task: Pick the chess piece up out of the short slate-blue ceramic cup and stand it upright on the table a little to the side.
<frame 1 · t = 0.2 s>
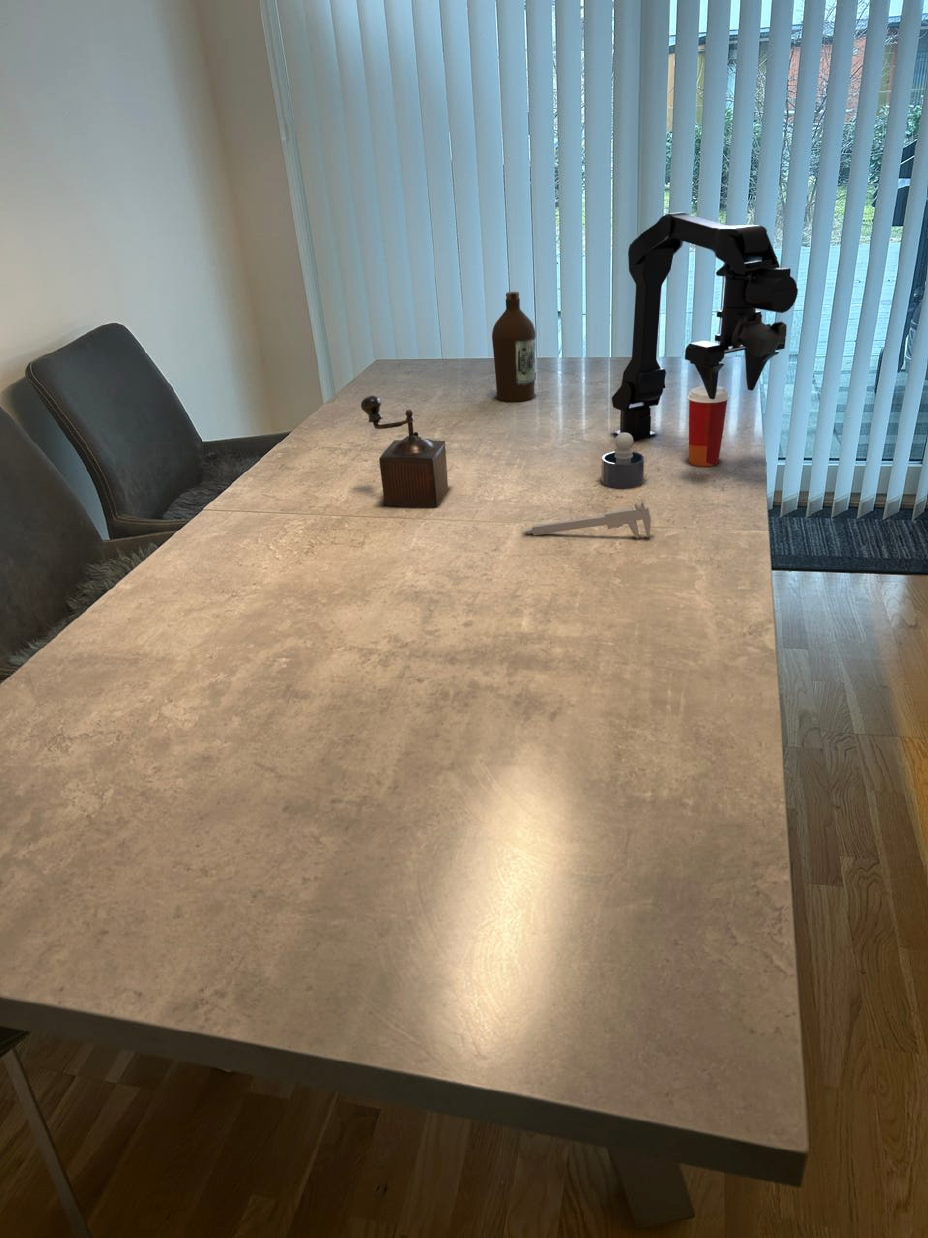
hand: (731, 394, 162), 15 cm above the table, tool pointing down, fingers open, 9 cm apart
chess piece: (622, 480, 167), resting on ceramic cup
caliper: (586, 536, 146), on the table
ceramic cup: (622, 481, 167), on the table
olive oil: (515, 397, 224), on the table
manual coffee grinder: (404, 496, 167), on the table
paper cup: (703, 462, 174), on the table
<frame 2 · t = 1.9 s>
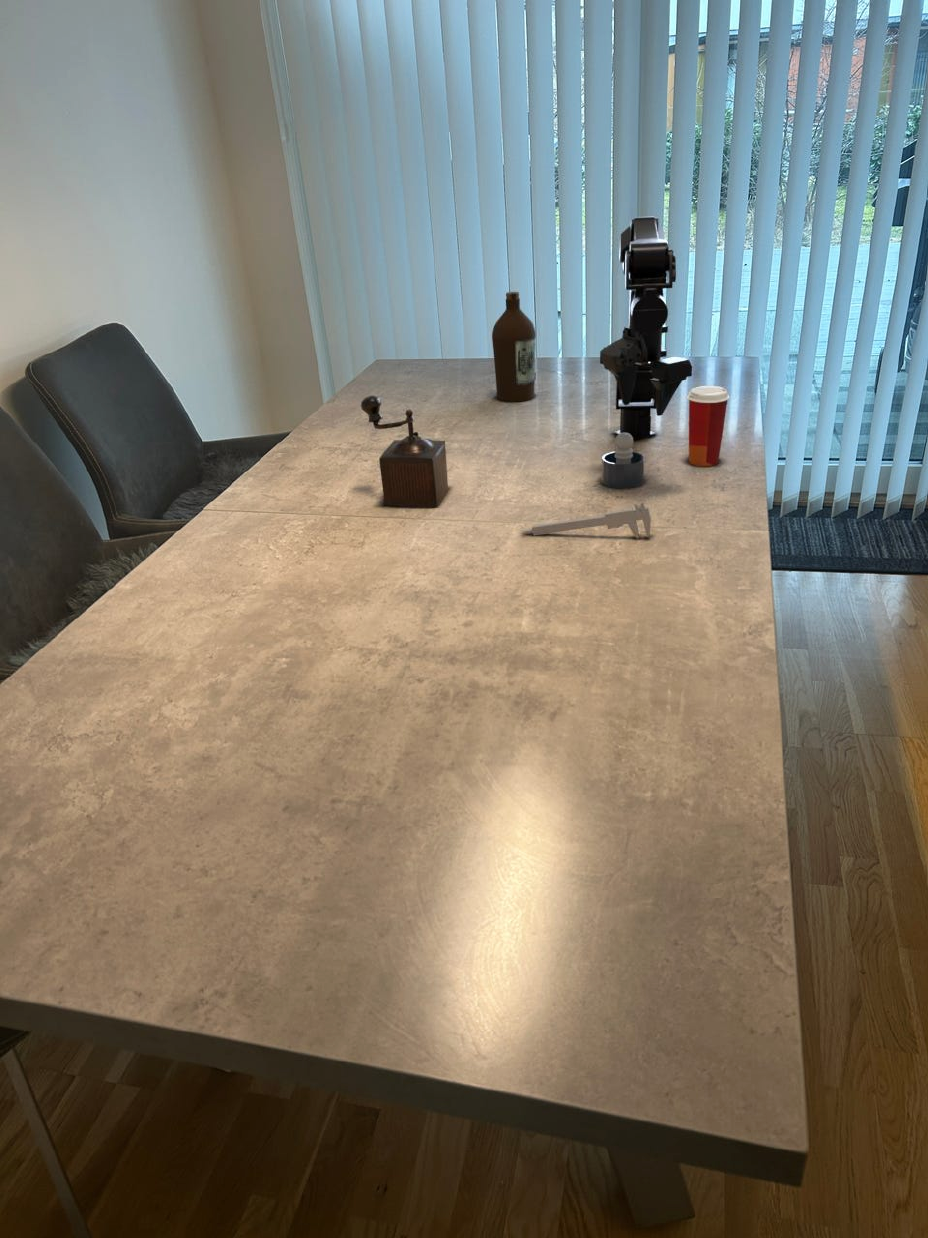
hand: (642, 409, 161), 13 cm above the table, tool pointing down, fingers open, 9 cm apart
nothing on the table moved.
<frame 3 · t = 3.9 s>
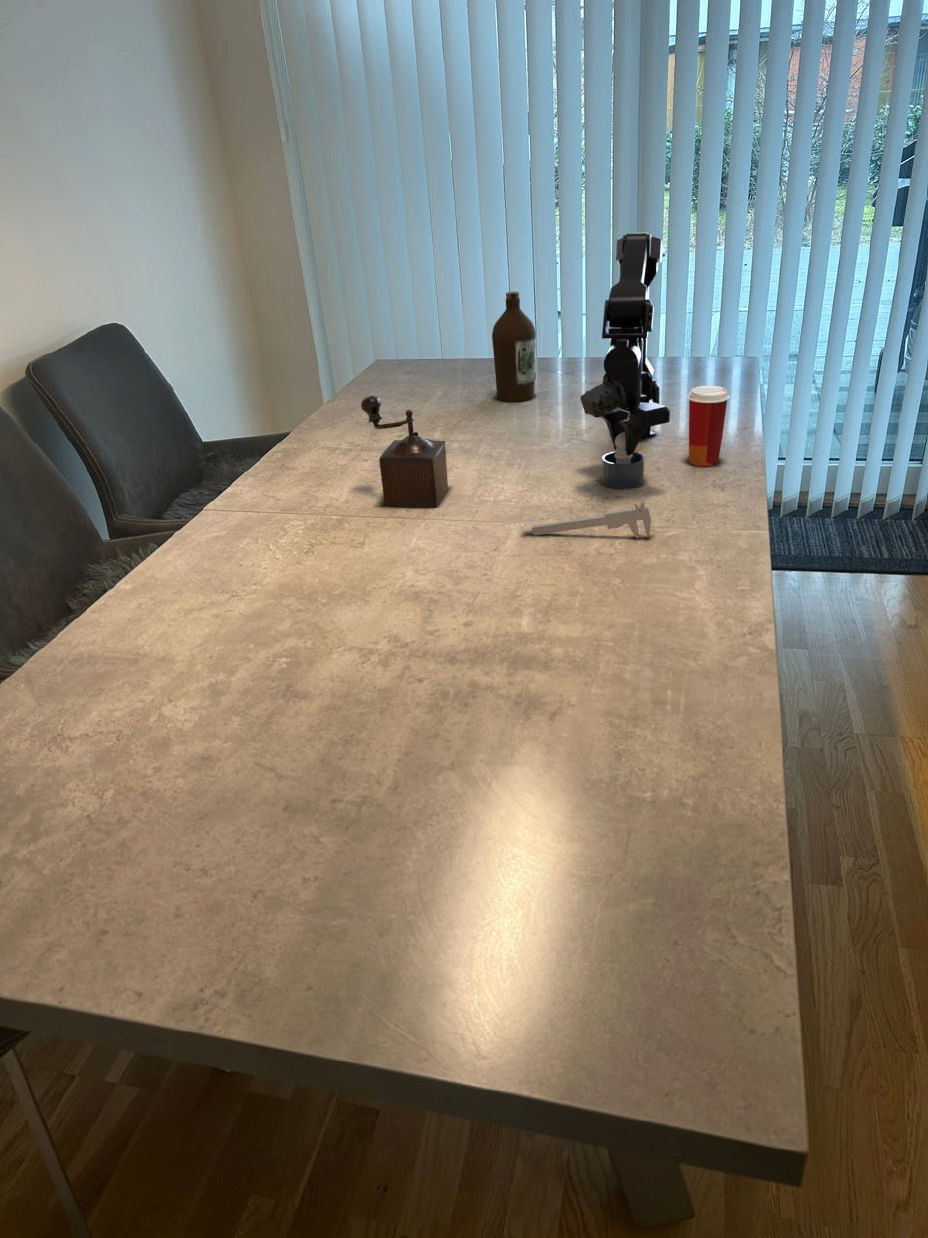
hand: (623, 452, 165), 6 cm above the table, tool pointing down, fingers closed on chess piece, 3 cm apart
chess piece: (622, 480, 167), resting on ceramic cup, touching gripper
everything else where it was.
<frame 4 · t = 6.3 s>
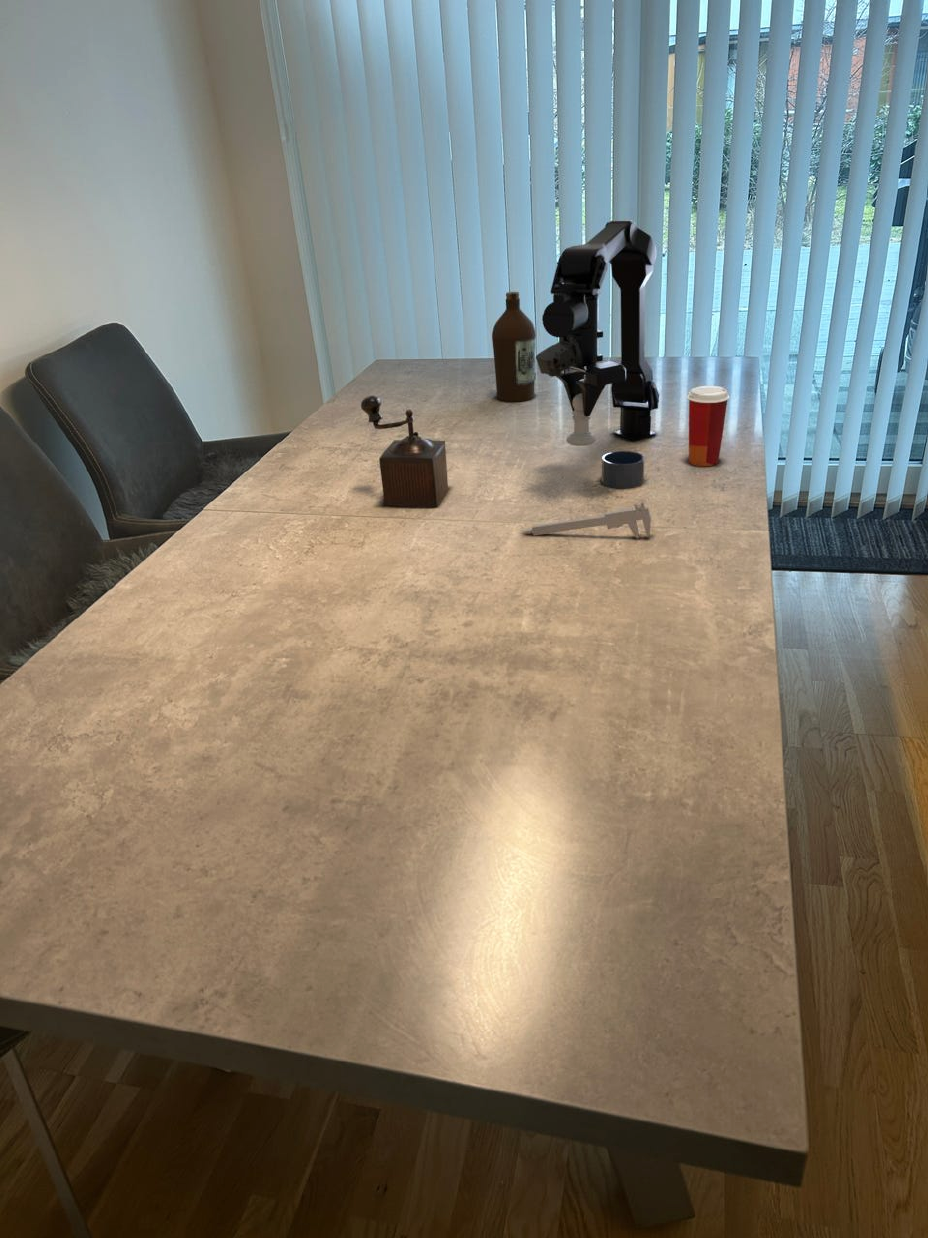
hand: (581, 413, 162), 13 cm above the table, tool pointing down, fingers closed on chess piece, 3 cm apart
chess piece: (581, 443, 165), point 7 cm above the table, touching gripper
everything else where it was.
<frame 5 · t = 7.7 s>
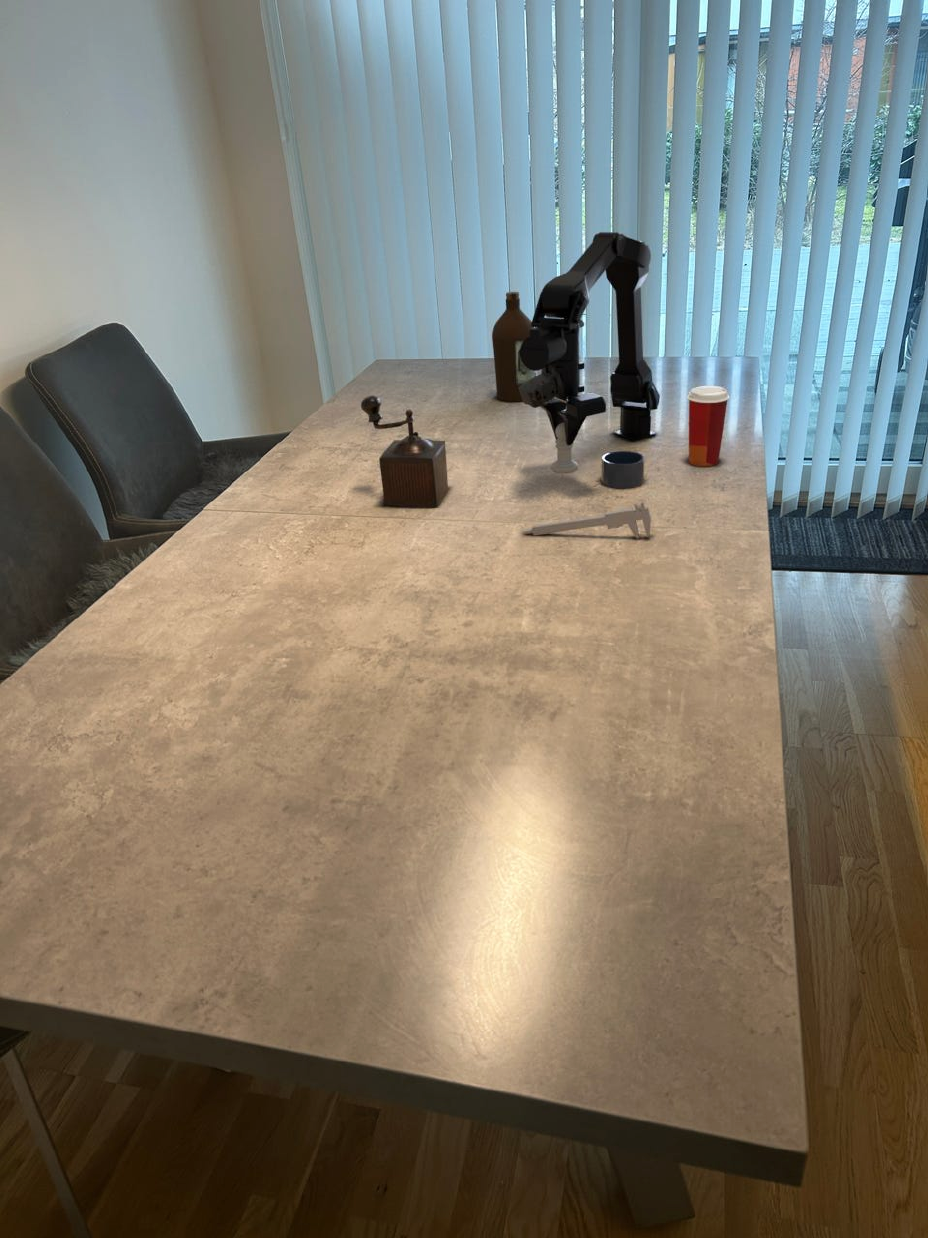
hand: (564, 442, 166), 8 cm above the table, tool pointing down, fingers closed on chess piece, 3 cm apart
chess piece: (564, 470, 168), point 2 cm above the table, touching gripper
everything else where it was.
when the fingers open (5 cm above the table, at t = 8.6 s): chess piece stays where it is, on the table.
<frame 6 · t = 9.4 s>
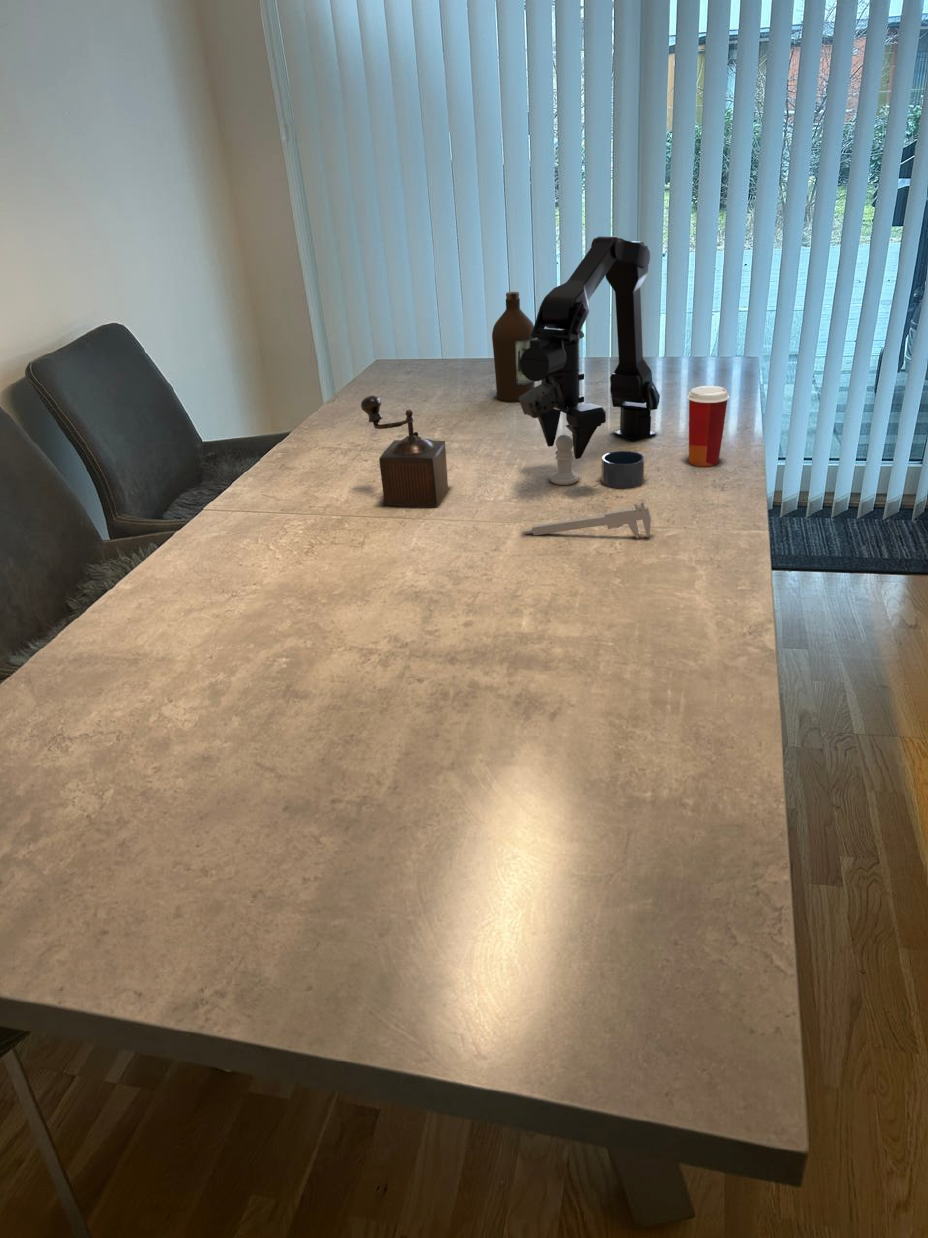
hand: (563, 452, 167), 6 cm above the table, tool pointing down, fingers open, 9 cm apart
chess piece: (564, 481, 169), on the table
everything else where it was.
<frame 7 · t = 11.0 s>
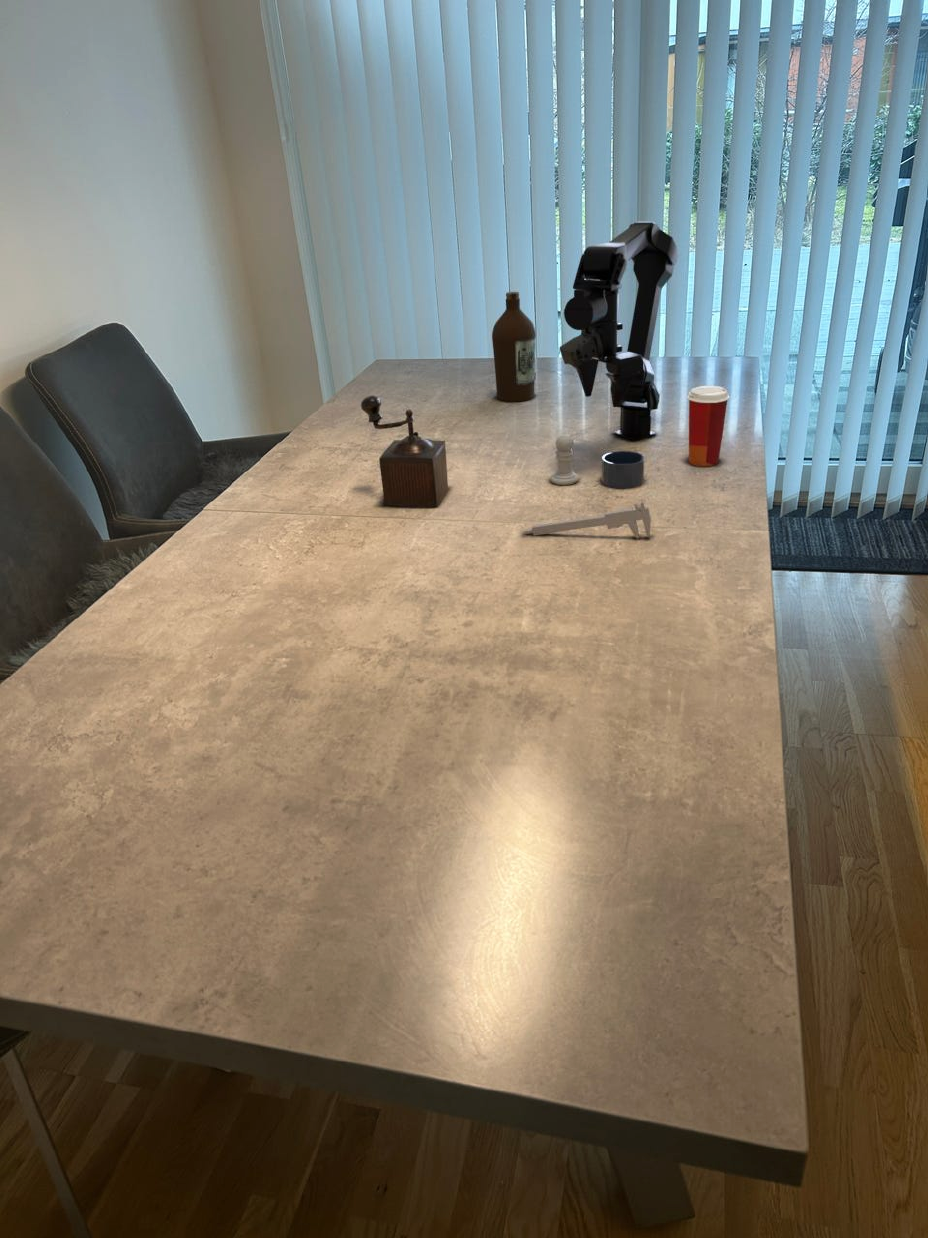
hand: (601, 401, 173), 12 cm above the table, tool pointing down, fingers open, 9 cm apart
nothing on the table moved.
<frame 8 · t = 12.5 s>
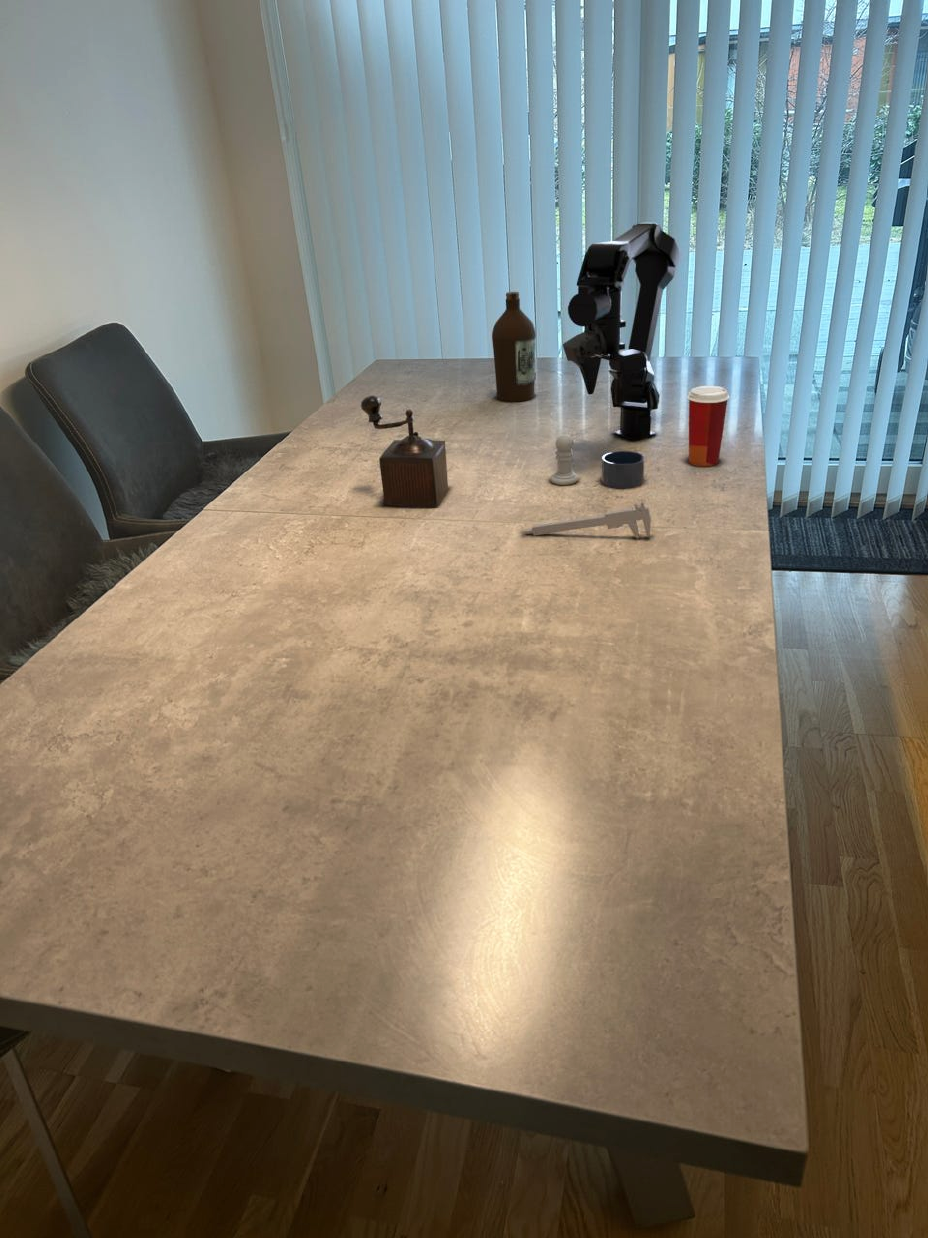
hand: (604, 398, 174), 12 cm above the table, tool pointing down, fingers open, 9 cm apart
nothing on the table moved.
at the end: chess piece inside the target area (0.1 cm from its centre), on the table; chess piece tilted 0°; the gripper is holding nothing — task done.
